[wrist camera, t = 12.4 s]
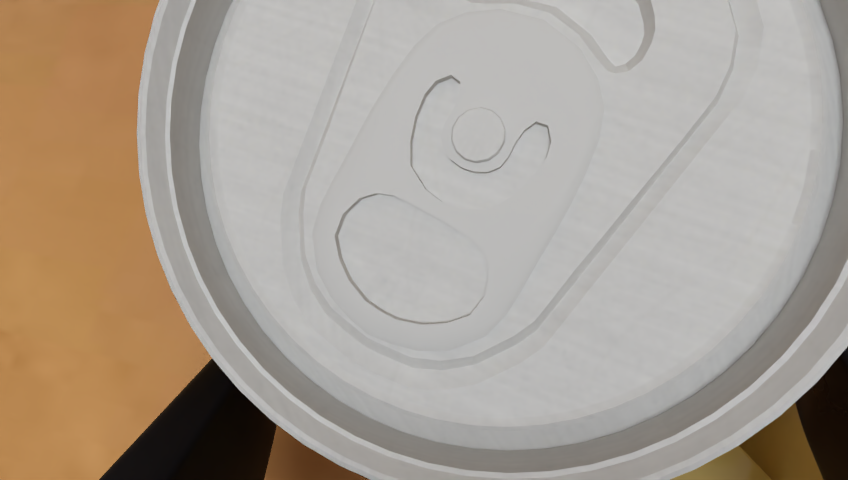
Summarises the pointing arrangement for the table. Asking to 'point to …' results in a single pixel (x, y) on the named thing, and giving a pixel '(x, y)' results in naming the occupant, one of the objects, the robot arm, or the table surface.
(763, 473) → the cheese
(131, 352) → the table surface
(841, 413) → the robot arm
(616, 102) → the beer can
